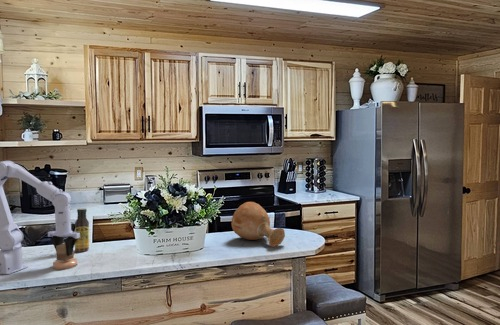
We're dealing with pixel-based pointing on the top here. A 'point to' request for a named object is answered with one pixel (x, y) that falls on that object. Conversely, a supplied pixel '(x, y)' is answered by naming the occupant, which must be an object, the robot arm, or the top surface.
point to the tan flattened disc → (64, 264)
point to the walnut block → (63, 253)
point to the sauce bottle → (82, 231)
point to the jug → (255, 224)
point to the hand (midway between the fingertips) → (64, 254)
